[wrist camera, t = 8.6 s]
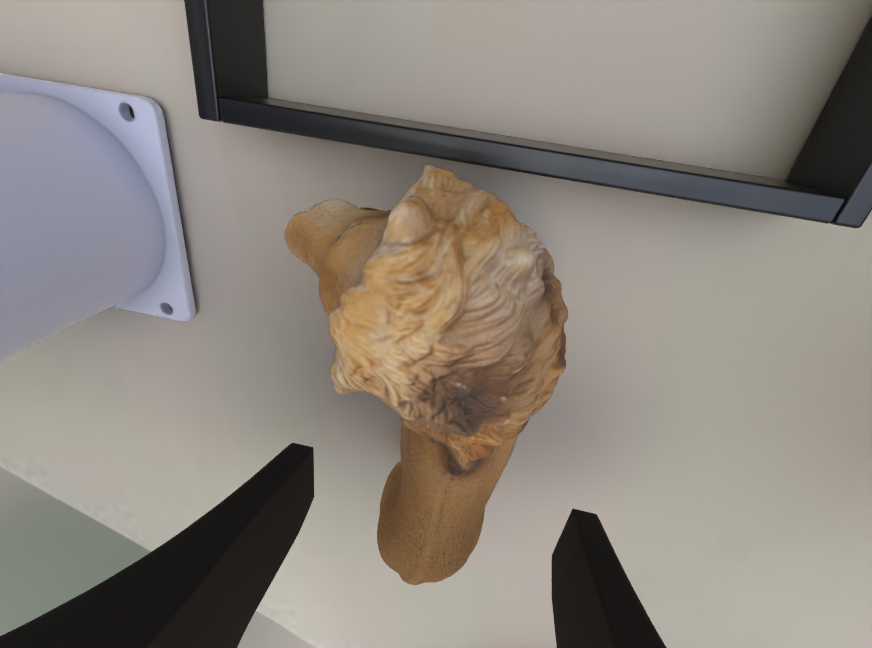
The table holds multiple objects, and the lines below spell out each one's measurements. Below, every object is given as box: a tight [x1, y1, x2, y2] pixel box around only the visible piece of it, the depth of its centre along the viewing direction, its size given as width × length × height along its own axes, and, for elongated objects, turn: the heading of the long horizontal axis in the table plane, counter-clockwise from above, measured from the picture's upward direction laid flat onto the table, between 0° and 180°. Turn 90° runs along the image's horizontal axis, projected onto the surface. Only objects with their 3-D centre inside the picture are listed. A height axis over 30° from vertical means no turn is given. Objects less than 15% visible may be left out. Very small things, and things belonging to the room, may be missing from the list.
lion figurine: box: [285, 165, 568, 585], centre depth 12 cm, size 15×5×9 cm, turn 0°
